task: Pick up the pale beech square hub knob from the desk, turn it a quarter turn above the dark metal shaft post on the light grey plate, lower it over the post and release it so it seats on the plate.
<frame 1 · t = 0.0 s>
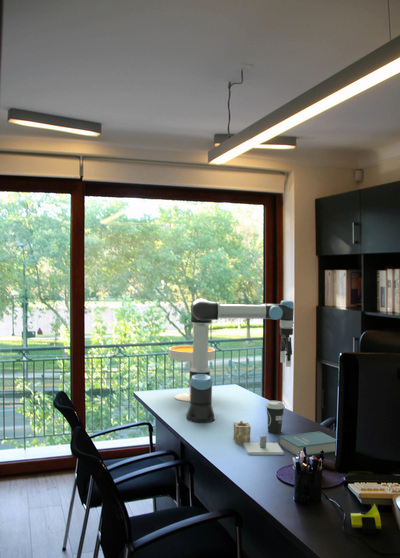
hand: (285, 364, 308), 28 cm above the table, fingers open, 13 cm apart
coffee cup: (274, 432, 272), on the table
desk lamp: (190, 398, 339), on the table
knob: (241, 441, 255), on the table
book: (308, 449, 249), on the table
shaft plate: (262, 449, 244), on the table
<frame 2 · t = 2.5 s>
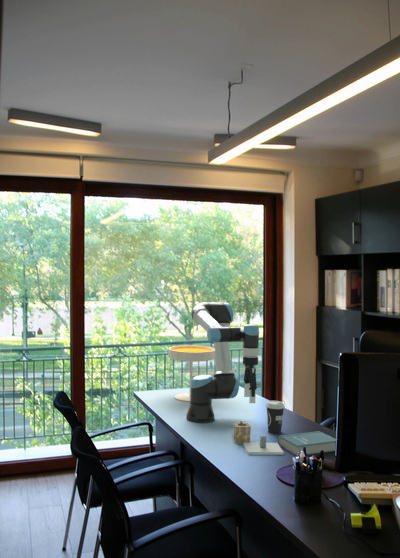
hand: (249, 399, 261), 18 cm above the table, fingers open, 13 cm apart
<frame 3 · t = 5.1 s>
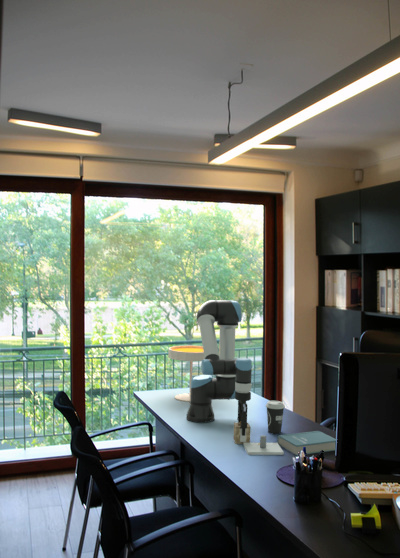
hand: (241, 439, 255), 1 cm above the table, fingers closed on knob, 7 cm apart
knob: (241, 441, 255), on the table, touching gripper
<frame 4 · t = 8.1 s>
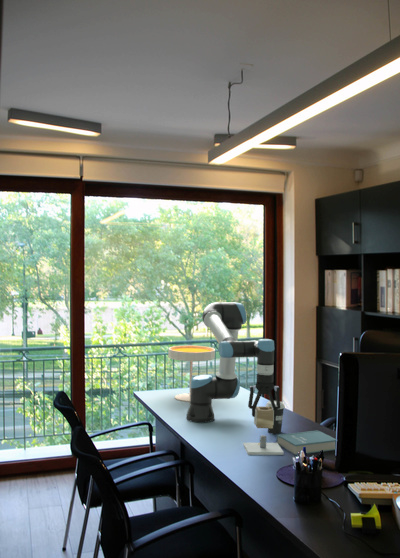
hand: (263, 423, 244), 12 cm above the table, fingers closed on knob, 7 cm apart
knob: (263, 426, 244), point 11 cm above the table, touching gripper
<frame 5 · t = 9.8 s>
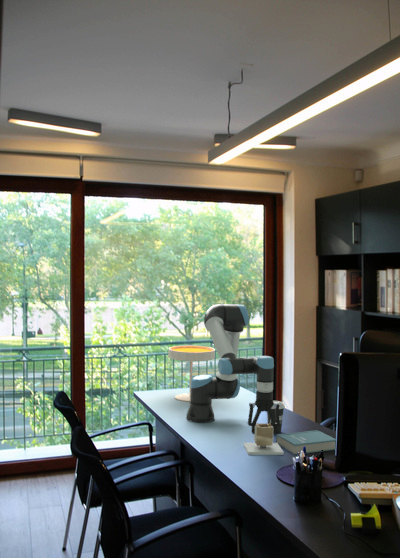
hand: (263, 440, 244), 4 cm above the table, fingers closed on knob, 7 cm apart
knob: (263, 443, 244), point 3 cm above the table, touching gripper
when the fingers open (3 cm above the table, at t = 11.2 s): knob stays where it is, resting on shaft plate.
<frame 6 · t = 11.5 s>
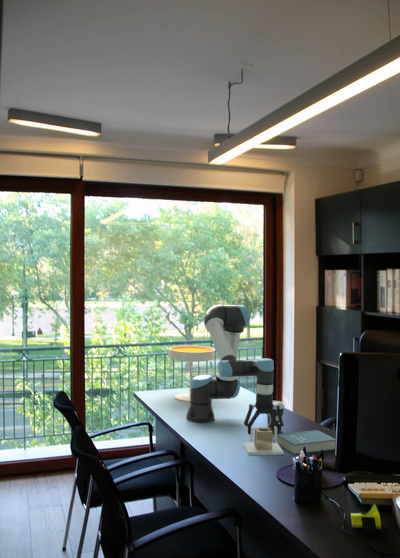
hand: (263, 441, 244), 4 cm above the table, fingers open, 10 cm apart
knob: (263, 447, 244), point 1 cm above the table, touching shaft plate
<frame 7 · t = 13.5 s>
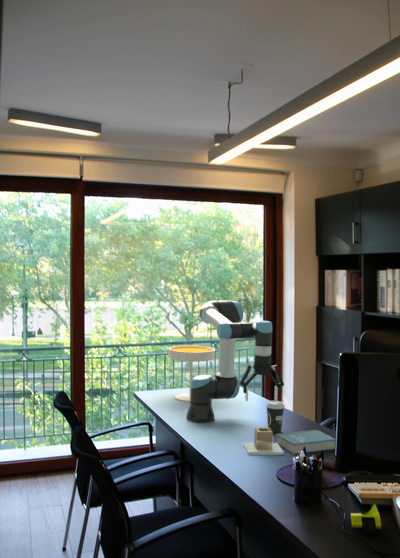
hand: (261, 400, 247), 22 cm above the table, fingers open, 13 cm apart
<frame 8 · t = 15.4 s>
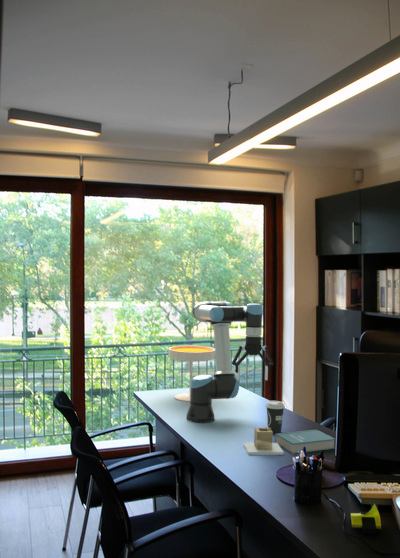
hand: (252, 379, 259), 29 cm above the table, fingers open, 13 cm apart
at the end: knob 0.0 cm off-centre on the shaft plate, point 1.2 cm above the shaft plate's base; the gripper is holding nothing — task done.
